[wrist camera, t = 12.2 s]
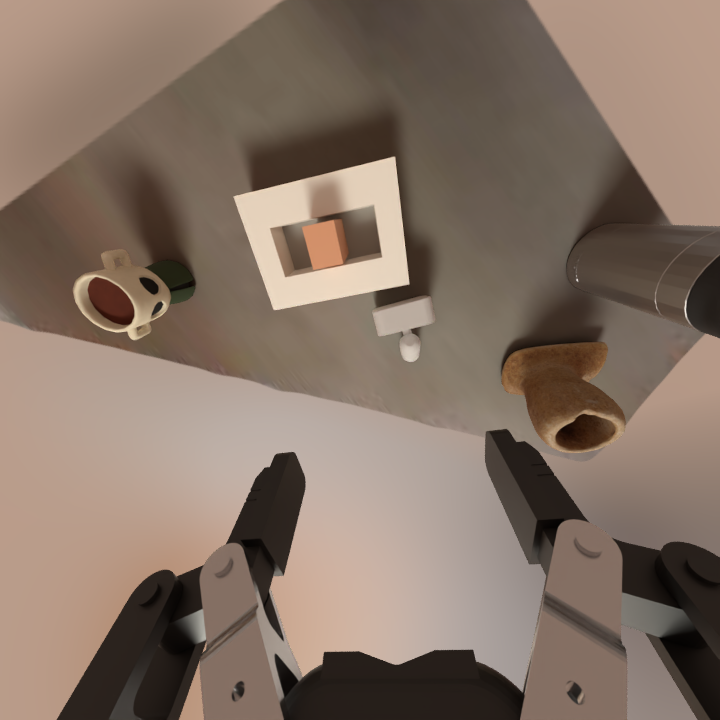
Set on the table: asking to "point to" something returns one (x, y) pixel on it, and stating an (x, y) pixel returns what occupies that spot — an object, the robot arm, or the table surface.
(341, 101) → the table surface
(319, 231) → the orange block
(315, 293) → the well block
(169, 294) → the character mug
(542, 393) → the brown boot-shaped piece
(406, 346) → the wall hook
